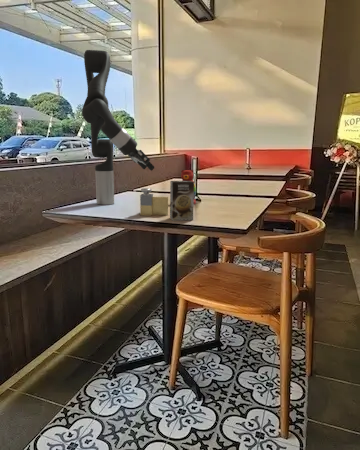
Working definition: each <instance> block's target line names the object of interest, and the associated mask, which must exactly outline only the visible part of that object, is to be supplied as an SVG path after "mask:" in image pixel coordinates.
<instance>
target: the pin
mask: <svg viewBox="0 0 360 450" xmlns="http://www.w3.org/2000/svg"><path fill="white" fill-rule="evenodd" d="M140 192H142V194H143V195H149V194H150V192H152V188H146V187H145V188H140Z"/></svg>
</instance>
